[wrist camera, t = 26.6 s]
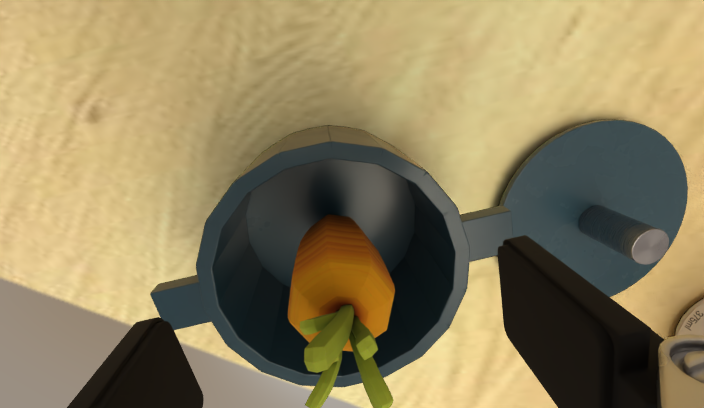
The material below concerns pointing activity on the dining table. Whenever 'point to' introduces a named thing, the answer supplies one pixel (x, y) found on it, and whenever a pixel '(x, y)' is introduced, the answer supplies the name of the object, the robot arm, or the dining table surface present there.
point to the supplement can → (692, 321)
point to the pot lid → (601, 200)
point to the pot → (295, 220)
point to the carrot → (340, 304)
